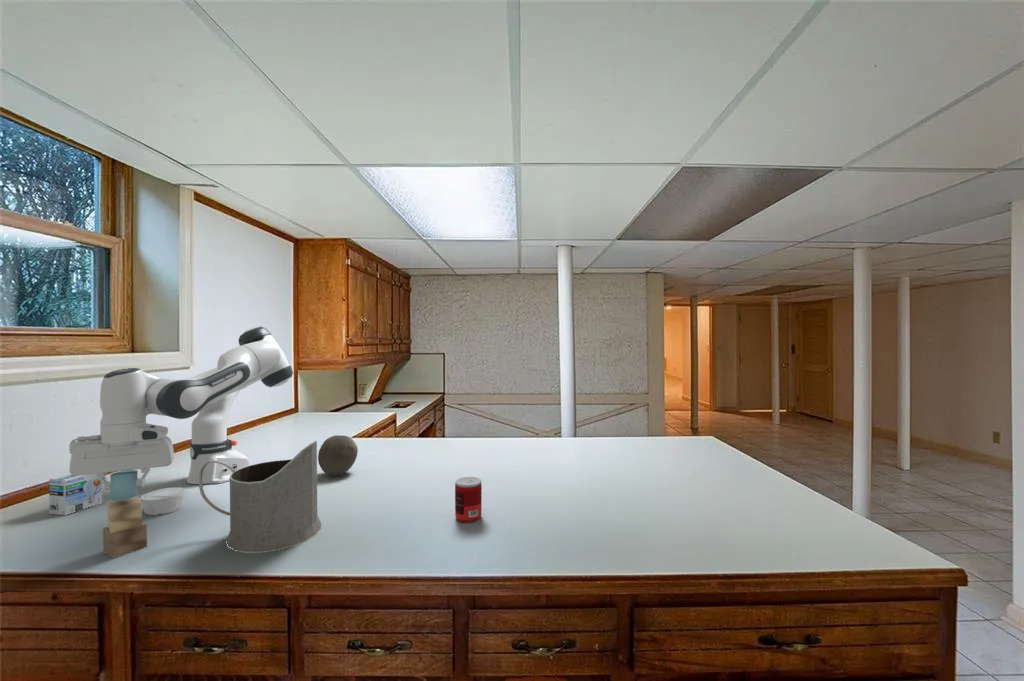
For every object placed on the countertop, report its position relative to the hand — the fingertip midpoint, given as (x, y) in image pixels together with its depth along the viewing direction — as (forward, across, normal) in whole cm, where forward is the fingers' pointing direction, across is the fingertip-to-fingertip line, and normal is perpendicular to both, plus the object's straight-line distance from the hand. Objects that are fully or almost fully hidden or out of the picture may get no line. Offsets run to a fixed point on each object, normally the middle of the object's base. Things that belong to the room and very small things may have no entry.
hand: (124, 487), depth 116 cm
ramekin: (+16, +3, +28) cm, 32 cm away
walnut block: (+16, 0, 0) cm, 16 cm away
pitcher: (+16, +30, -4) cm, 34 cm away
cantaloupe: (+16, +55, +42) cm, 71 cm away
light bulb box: (+16, -22, +42) cm, 50 cm away
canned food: (+16, +85, -20) cm, 89 cm away
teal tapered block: (+2, 0, 0) cm, 2 cm away
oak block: (+10, 0, 0) cm, 10 cm away
